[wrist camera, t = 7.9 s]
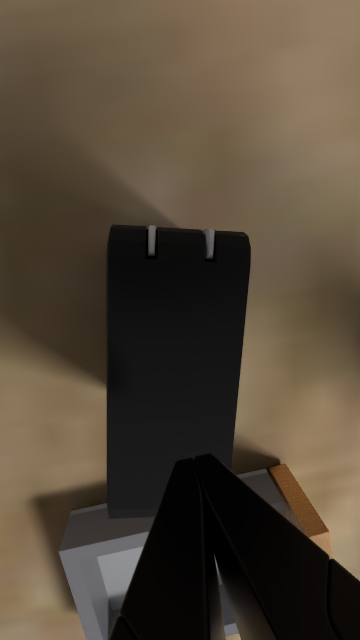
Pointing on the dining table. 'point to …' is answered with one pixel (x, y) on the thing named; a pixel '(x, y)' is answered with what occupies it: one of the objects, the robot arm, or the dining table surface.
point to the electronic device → (170, 355)
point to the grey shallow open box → (123, 559)
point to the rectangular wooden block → (300, 508)
